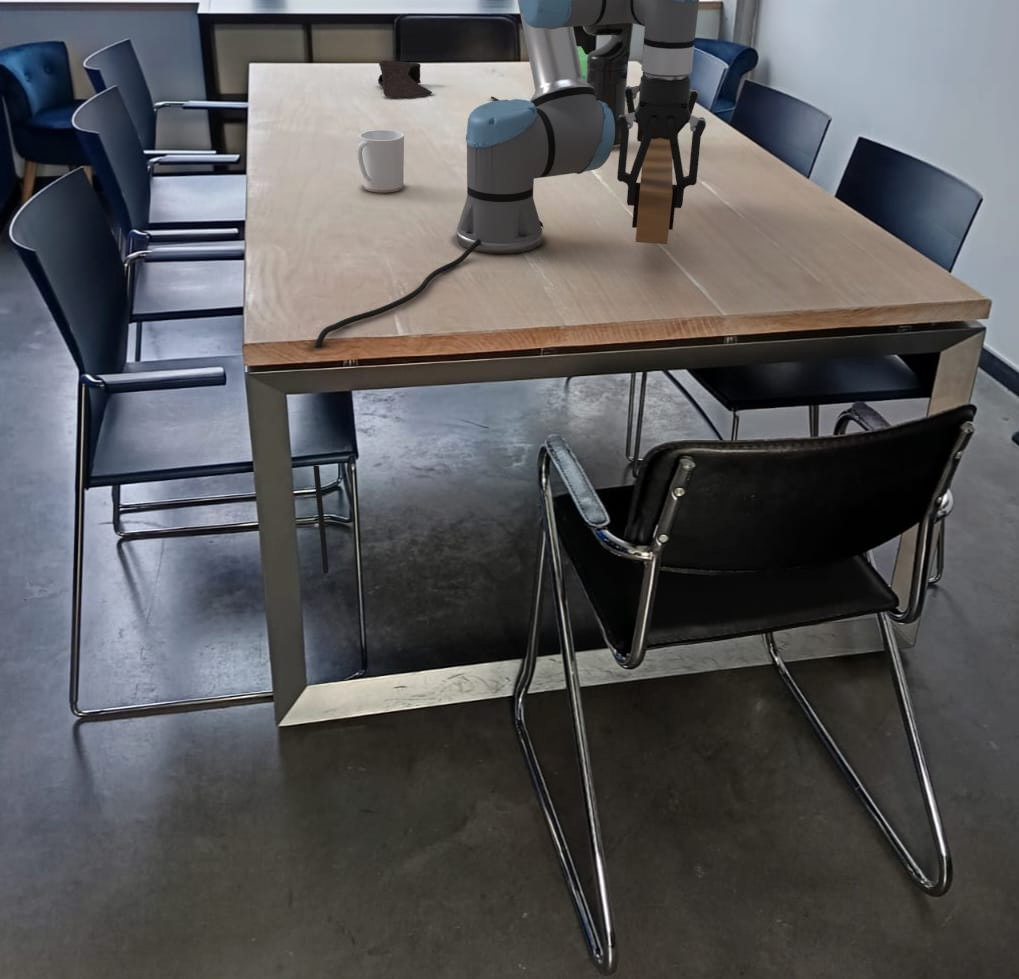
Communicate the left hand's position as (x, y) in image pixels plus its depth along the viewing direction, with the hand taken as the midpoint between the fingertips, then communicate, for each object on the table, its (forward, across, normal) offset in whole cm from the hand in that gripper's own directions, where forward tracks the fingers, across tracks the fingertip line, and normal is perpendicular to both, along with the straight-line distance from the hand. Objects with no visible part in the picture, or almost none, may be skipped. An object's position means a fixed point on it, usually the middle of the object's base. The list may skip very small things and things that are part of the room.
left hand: (652, 225), depth 176 cm
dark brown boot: (+9, +69, -133) cm, 150 cm away
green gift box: (+9, +20, -129) cm, 130 cm away
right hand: (-3, 0, -42) cm, 42 cm away
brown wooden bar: (+1, 0, -21) cm, 21 cm away
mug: (+9, +55, -42) cm, 69 cm away
